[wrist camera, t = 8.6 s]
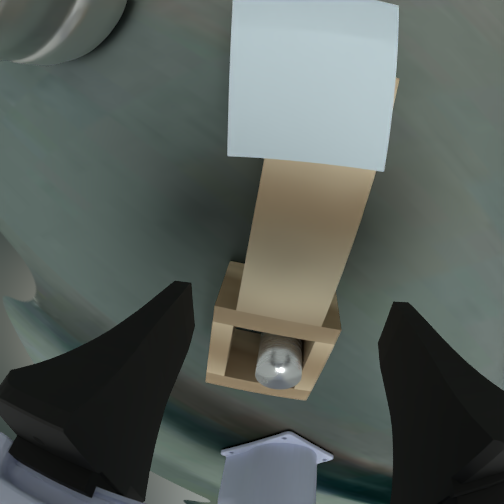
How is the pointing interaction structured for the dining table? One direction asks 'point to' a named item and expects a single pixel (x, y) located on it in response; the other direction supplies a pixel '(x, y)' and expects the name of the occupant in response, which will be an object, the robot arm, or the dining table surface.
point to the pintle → (279, 361)
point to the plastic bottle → (54, 29)
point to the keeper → (313, 80)
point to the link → (289, 271)
